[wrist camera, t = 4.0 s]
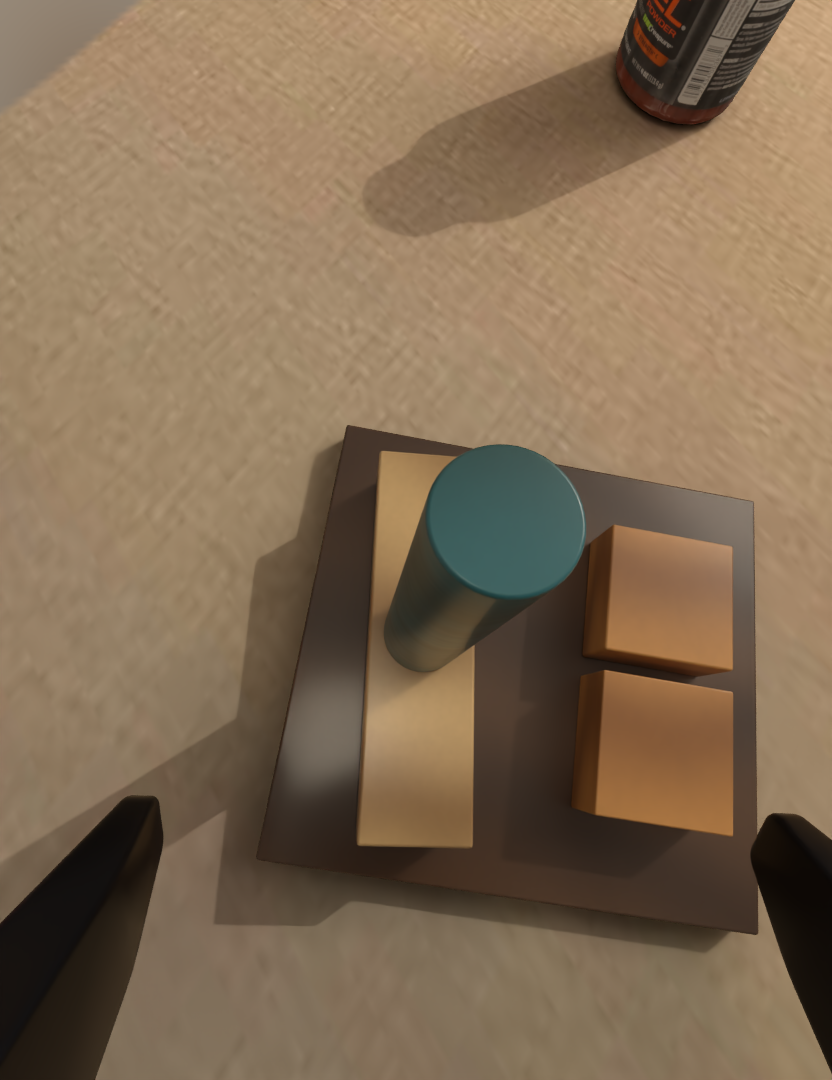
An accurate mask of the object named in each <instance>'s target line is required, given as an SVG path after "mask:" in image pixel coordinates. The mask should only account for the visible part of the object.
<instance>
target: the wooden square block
mask: <svg viewBox="0 0 832 1080" xmlns="http://www.w3.org/2000/svg"><path fill="white" fill-rule="evenodd" d="M582 655H583V656H584V657H587V658H592V659H598V660H604V661H610V662H616V663H621V664H627V665H633V666H639V667H645V668H650V669H656V670H662V671H668V672H674V673H679V674H685V675H691V676H697V677H699V676H705V675H711V674H717V673H723V672H729V671H732V670H733V547H732V546H727V545H722V544H717V543H711V542H706V541H700V540H695V539H689V538H684V537H679V536H673V535H668V534H662V533H657V532H651V531H646V530H641V529H635V528H630V527H624V526H619V525H612V526H611V527H609V528H608V529H607V530H606V531H604V532H603V533H602V534H601V535H599V536H598V537H597V538H595V539H594V540H593V541H592V542H591V544H590V557H589V571H588V585H587V598H586V612H585V626H584V639H583V653H582Z"/></svg>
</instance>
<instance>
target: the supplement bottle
mask: <svg viewBox="0 0 832 1080" xmlns="http://www.w3.org/2000/svg"><path fill="white" fill-rule="evenodd" d="M794 1H795V0H637V3H636V6H635V8H634V11H633V13H632V15H631V17H630V19H629V22H628V25H627V28H626V30H625V32H624V36H623V39H622V41H621V44H620V47H619V50H618V53H617V58H616V72H617V76H618V79H619V81H620V84H621V86H622V88H623V90H624V91H625V93H626V94H627V96H628V97H629V98H630V99H631V100H632V101H633V102H634V103H635V104H636V105H637V106H638V107H640V108H641V109H642V110H644V111H645V112H647V113H648V114H650V115H652V116H655V117H658V118H659V119H661V120H664V121H669V122H673V123H677V124H697V123H701V122H705V121H708V120H711V119H712V118H714V117H716V116H717V115H719V114H721V113H722V112H723V111H724V110H725V109H726V108H727V107H728V105H729V104H730V103H731V102H732V100H733V99H734V97H735V95H736V94H737V92H738V91H739V89H740V88H741V86H742V85H743V83H744V82H745V80H746V79H747V77H748V75H749V73H750V72H751V70H752V69H753V67H754V65H755V64H756V62H757V60H758V59H759V57H760V56H761V54H762V53H763V51H764V49H765V48H766V46H767V44H768V43H769V41H770V40H771V38H772V36H773V35H774V33H775V32H776V30H777V29H778V27H779V25H780V23H781V22H782V20H783V19H784V17H785V16H786V14H787V12H788V11H789V9H790V8H791V6H792V4H793V3H794Z"/></svg>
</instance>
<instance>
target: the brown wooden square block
mask: <svg viewBox="0 0 832 1080" xmlns="http://www.w3.org/2000/svg"><path fill="white" fill-rule="evenodd" d="M571 807H572V808H574V809H577V810H581V811H584V812H587V813H590V814H593V815H596V816H603V817H609V818H615V819H621V820H628V821H634V822H640V823H647V824H653V825H659V826H666V827H672V828H678V829H684V830H691V831H697V832H703V833H710V834H716V835H722V836H728V837H732V836H733V692H731V691H725V690H719V689H714V688H708V687H702V686H696V685H690V684H684V683H679V682H673V681H667V680H661V679H655V678H649V677H644V676H638V675H632V674H626V673H620V672H614V671H609V670H603V671H599V672H595V673H591V674H587V675H583V676H581V678H580V692H579V705H578V719H577V733H576V746H575V760H574V774H573V787H572V801H571Z"/></svg>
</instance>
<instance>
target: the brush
mask: <svg viewBox="0 0 832 1080" xmlns="http://www.w3.org/2000/svg"><path fill="white" fill-rule="evenodd" d="M585 539H586V519H585V512H584V508H583V504H582V502H581V499H580V496H579V494H578V492H577V490H576V489H575V487H574V485H573V484H572V482H571V481H570V479H569V478H568V477H567V476H566V475H565V473H564V472H563V471H562V470H561V469H560V468H559V467H557V466H556V465H555V464H554V463H553V462H551V461H550V460H548V459H547V458H546V457H544V456H542V455H540V454H538V453H536V452H534V451H531V450H529V449H526V448H522V447H518V446H513V445H487V446H482V447H478V448H475V449H472V450H469V451H467V452H465V453H463V454H461V455H459V456H457V457H454V456H441V455H429V454H416V453H403V452H390V451H381V452H380V454H379V462H378V471H377V479H376V491H375V508H374V525H373V542H372V558H371V575H370V592H369V608H368V625H367V642H366V659H365V675H364V692H363V709H362V725H361V742H360V759H359V776H358V792H357V809H356V826H355V831H356V841H357V845H359V846H379V847H422V848H465V849H469V848H472V845H473V773H474V667H475V644H476V643H478V642H479V641H481V640H482V639H484V638H485V637H486V636H488V635H489V634H491V633H492V632H493V631H495V630H496V629H498V628H499V627H501V626H502V625H503V624H505V623H506V622H508V621H509V620H510V619H512V618H513V617H515V616H516V615H517V614H519V613H520V612H522V611H523V610H525V609H526V608H527V607H529V606H530V605H532V604H533V603H534V602H536V601H537V600H539V599H540V598H542V597H543V596H544V595H546V594H547V593H549V592H550V591H551V590H553V589H554V588H556V587H557V586H558V585H560V584H561V583H562V582H563V581H564V580H565V579H566V578H567V577H568V576H569V575H570V574H571V573H572V571H573V570H574V568H575V567H576V565H577V563H578V561H579V559H580V557H581V555H582V552H583V548H584V545H585Z"/></svg>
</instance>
